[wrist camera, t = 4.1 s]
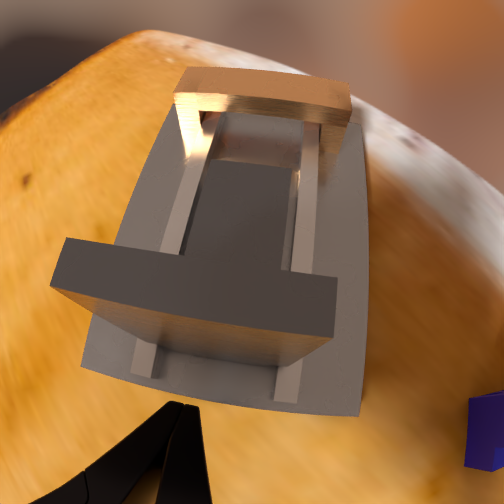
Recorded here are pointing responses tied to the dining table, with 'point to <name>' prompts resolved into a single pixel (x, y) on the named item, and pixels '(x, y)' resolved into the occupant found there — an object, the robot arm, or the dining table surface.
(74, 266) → the metal angle bracket
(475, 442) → the blue saddle bracket
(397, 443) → the dining table surface
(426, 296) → the dining table surface
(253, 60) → the dining table surface
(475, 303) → the dining table surface
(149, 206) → the rail base
